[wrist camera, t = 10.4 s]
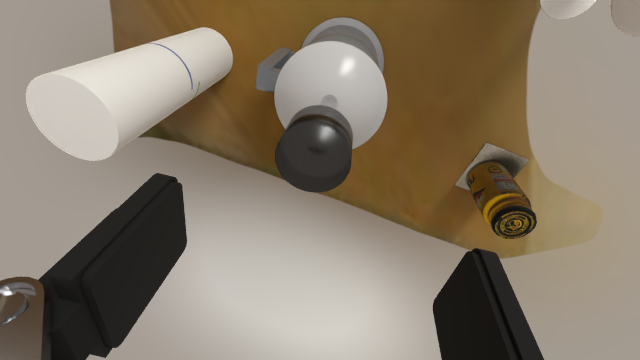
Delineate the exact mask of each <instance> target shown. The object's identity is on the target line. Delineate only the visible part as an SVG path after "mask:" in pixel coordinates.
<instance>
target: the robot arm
mask: <svg viewBox="0 0 640 360" xmlns="http://www.w3.org/2000/svg"><path fill="white" fill-rule="evenodd" d="M186 244H187V236H186V225H185V213H184V203H183V191H182V185H181V183H178V181H177V179H176V178H175V177H172V176H168V175H164V174H159V173H156V174H154V175H153V176H152V177H151V178H150V179H149V180H148V181H147V182H146V183H144V184H143V185H142V186H141V187H140V188H139V189H138V190H137V191H136V192H135V193H134V194H133V195H132V196H130V197H129V198H128V199H127V200H126V201H125V202H124V203H123V204H122V205H121V206H120V207H119V208H117V209H115V210H114V211H113V212H111V213H110V214H109V215H108V216H107V217H106V218H105V219H104V220H103V221H102V222H101V223H99V224H98V225H97V226H96V227H95V228H94V229H93V230H92V231H91V232H90V233H89V234H87V235H86V236H85V237H84V238H83V239H82V240H81V241H80V242H79V243H78V244H77V245H76V246H75V247H73V248H72V249H71V250H70V251H69V252H68V253H67V254H66V255H65V256H64V257H63V258H61V259H60V260H59V261H58V262H57V263H56V264H55V265H54V266H53V267H52V268H51V269H50V270H48V271H47V272H46V273H45V274H44V275H43V276H42V277H41V278H40V279H39V280H37V279H33V278H31V277H14V278H8V279H4V280H1V281H0V360H86V358H87V357H88V356H89V354H92V355H96V356H100V357H105V358H106V357H107V355H108V354H109V352H110V351H111V349H112V348H117V347H118V346H119V345H120V344H121V343H122V342H123V341H124V339H125V338H126V336H127V335H128V333H129V332H130V330H131V329H132V327H133V326H134V324H135V323H136V321H137V320H138V318H139V317H140V315H141V314H142V312H143V311H144V309H145V308H146V306H147V305H148V303H149V302H150V301H151V299H152V298H153V296H154V295H155V293H156V292H157V290H158V289H159V287H160V286H161V284H162V283H163V281H164V280H165V278H166V277H167V275H168V274H169V272H170V271H171V269H172V268H173V266H174V265H175V263H176V262H177V260H178V259H179V257H180V256H181V254H182V253H183V251H184V250H185V247H186ZM433 314H434V319H435V325H436V330H437V336H438V341H439V347H440V352H441V358H442V360H544V358H543V356H542V354H541V352H540V350H539V347H538V345H537V343H536V340H535V338H534V336H533V334H532V332H531V329H530V327H529V325H528V323H527V320H526V318H525V316H524V314H523V311H522V309H521V307H520V305H519V302H518V300H517V298H516V296H515V293H514V291H513V289H512V287H511V284H510V282H509V280H508V278H507V275H506V273H505V271H504V269H503V266H502V264H501V262H500V260H499V257H498V256H497V254H496V253H494V252H490V251H486V250H482V249H478V248H475V249H473V250H472V251H468V252H467V253H466V254H465V255H464V257H463V258H462V260H461V261H460V263H459V264H458V266H457V267H456V269H455V270H454V272H453V273H452V275H451V276H450V278H449V279H448V280H447V282H446V283H445V285H444V286H443V288H442V289H441V291H440V292H439V294H438V295H437V297H436V298H435V300H434V303H433Z"/></svg>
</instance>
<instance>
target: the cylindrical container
mask: <svg viewBox="0 0 640 360" xmlns="http://www.w3.org/2000/svg"><path fill="white" fill-rule="evenodd" d="M232 64H233V55H232V51H231V48H230V46H229V44H228V42H227V41H226V39H225V38H224V37H223V36H222V35H221V34H220V33H218V32H217V31H215V30H213V29H210V28H197V29H194V30H191V31H187V32H184V33H181V34H178V35H174V36H171V37H167V38H164V39H161V40H157V41H154V42H150V43H147V44H143V45H140V46H137V47H133V48H130V49H127V50H124V51H120V52H117V53H114V54H110V55H107V56H104V57H100V58H97V59H94V60H90V61H87V62H84V63H80V64H77V65H73V66H70V67H66V68H63V69H60V70H56V71H53V72H50V73H46V74H43V75H39V76H37V77H36V78H34V79H33V80H32V81H31V82H30V84H29V85H28V88H27V91H26V103H27V108H28V110H29V113H30V115H31V117H32V119H33V121H34V122H35V124H36V126H37V127H38V128H39V130H40V131H41V132H42V133H43V134H44V135H45V136H46V138H47V139H49V140H50V141H51V142H52V143H53V144H54V145H56V146H57V147H59V148H60V149H61V150H63V151H64V152H66V153H69V154H70V155H72V156H75V157H78V158H80V159H84V160H90V161H97V160H103V159H106V158H108V157H110V156H111V155H113V154H114V153H115V152H117V151H118V150H120V149H121V148H123V147H124V146H125V145H127V144H128V143H130V142H131V141H133V140H134V139H136V138H137V137H138V136H140V135H141V134H143V133H144V132H146V131H147V130H149V129H150V128H151V127H153V126H154V125H156V124H157V123H159V122H160V121H162V120H163V119H164V118H166V117H167V116H169V115H170V114H172V113H173V112H174V111H176V110H177V109H179V108H180V107H182V106H183V105H185V104H186V103H187V102H189V101H190V100H192V99H193V98H195V97H196V96H197V95H199V94H200V93H202V92H203V91H205V90H206V89H208V88H209V87H210V86H212V85H213V84H215V83H216V82H218V81H219V80H221V79H222V78H223V77H225V76H226V75H227V74H228V73H229V72H230V70H231V68H232Z"/></svg>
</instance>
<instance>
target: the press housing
mask: <svg viewBox="0 0 640 360" xmlns="http://www.w3.org/2000/svg"><path fill="white" fill-rule="evenodd" d="M383 69H384V55H383V50H382V46H381V44H380V41H379V39H378V37H377V36H376V34H375V33H374V32H373V31H372V29H370V28H369V27H368V26H367V25H366V24H364V23H363V22H361V21H359V20H356V19H353V18H348V17H337V18H332V19H328V20H326V21H324V22H322V23H321V24H319V25H318V26H317V27H315V28H314V29H313V30H312V31H311V32H310V33H309V35H308V36H307V37H306V39H305V41H304V43H303V45H302V48H301V49H300V50H299V51H297V52H293V51H291V49H287V48H283V47H280V48H279V49H278V50H276V51H275V52H274V53H273V54H271V55H270V56H269V57H268V58H266V59H265V60H264V61H263V62H261V63H260V64H259V65H258V66H257V79H256V89H258V90H263V91H267V92H269V91H274V92H275V95H274V99H275V107H276V111H277V114H278V117H279V119H280V121H281V123H282V125H283V127H284V128H285V129H286V128H287V126H288V124H289V122H290V120H291V118H292V117H293V116H294V115H295V114H296V113H297V112H298V111H300V110H301V109H303V108H305V107H308V106H312V105H320V104H321V101H322V99H323V97H324V96H326V95H333V96H335V97H336V98H337V100H338V106H337V111H339V112H340V113H341V114H342V115H343V116H344V117H345V118H346V119H347V120H348V122H349V124H350V126H351V128H352V132H353V145H352V149H354V148H357V147H359V146H360V145H362V144H364V143H365V142H366V141H368V140H369V139H370V138H371V137H372V136H373V135H374V134H375V133H376V131H377V130H378V129H379V127H380V125H381V123H382V121H383V119H384V116H385V113H386V109H387V90H386V84H385V81H384V77H383V75H382V74H383Z"/></svg>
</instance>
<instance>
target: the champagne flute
mask: <svg viewBox="0 0 640 360" xmlns="http://www.w3.org/2000/svg"><path fill="white" fill-rule="evenodd" d="M595 2H596V0H540V4H541V7H542V10H543V11H544V13H545V14H546V15H547V16H549V17H551V18H554V19H557V20H566V19H570V18H573V17H575V16H578V15H580V14H581V13H583V12H584V11H586V10H587V9H588V8H590V7H591V6H592V5H593V4H594V3H595ZM611 16H612V19H613V22H614V24H615V25H616V27H617V28H618V29H619V30H621V31H622V32H623V33H625V34H627V35H630V36H633V37H640V0H612V1H611Z"/></svg>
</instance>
